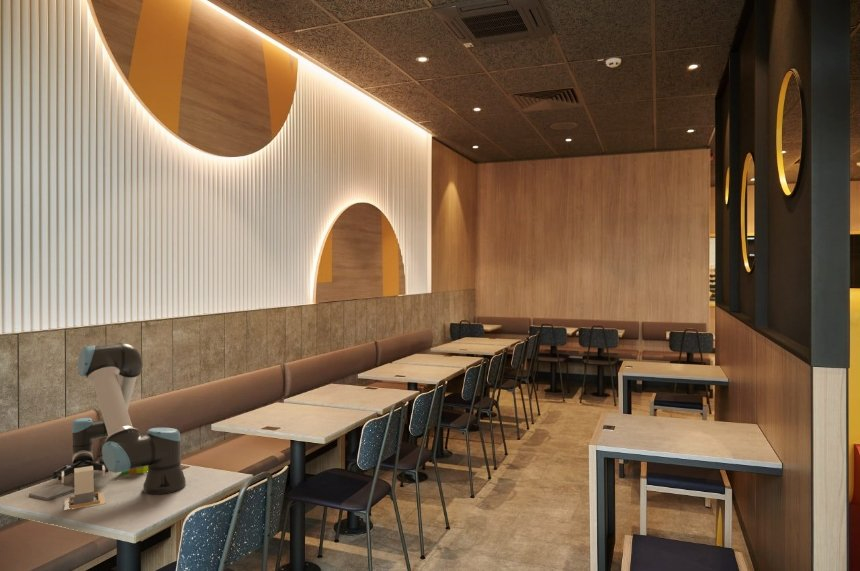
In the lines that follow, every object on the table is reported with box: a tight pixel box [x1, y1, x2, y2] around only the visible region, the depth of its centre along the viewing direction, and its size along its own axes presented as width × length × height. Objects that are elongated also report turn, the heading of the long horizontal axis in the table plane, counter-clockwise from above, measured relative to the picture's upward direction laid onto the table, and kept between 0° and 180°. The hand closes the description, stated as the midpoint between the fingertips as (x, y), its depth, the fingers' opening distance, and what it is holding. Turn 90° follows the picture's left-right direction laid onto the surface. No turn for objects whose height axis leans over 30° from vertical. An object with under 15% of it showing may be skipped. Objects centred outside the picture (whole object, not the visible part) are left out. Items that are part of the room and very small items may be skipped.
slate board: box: [28, 484, 75, 501], centre depth 224 cm, size 11×11×1 cm
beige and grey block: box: [73, 466, 95, 505], centre depth 215 cm, size 6×6×12 cm
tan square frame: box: [68, 491, 106, 510], centre depth 216 cm, size 13×13×1 cm
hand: (83, 476), depth 224 cm, fingers open, 13 cm apart
